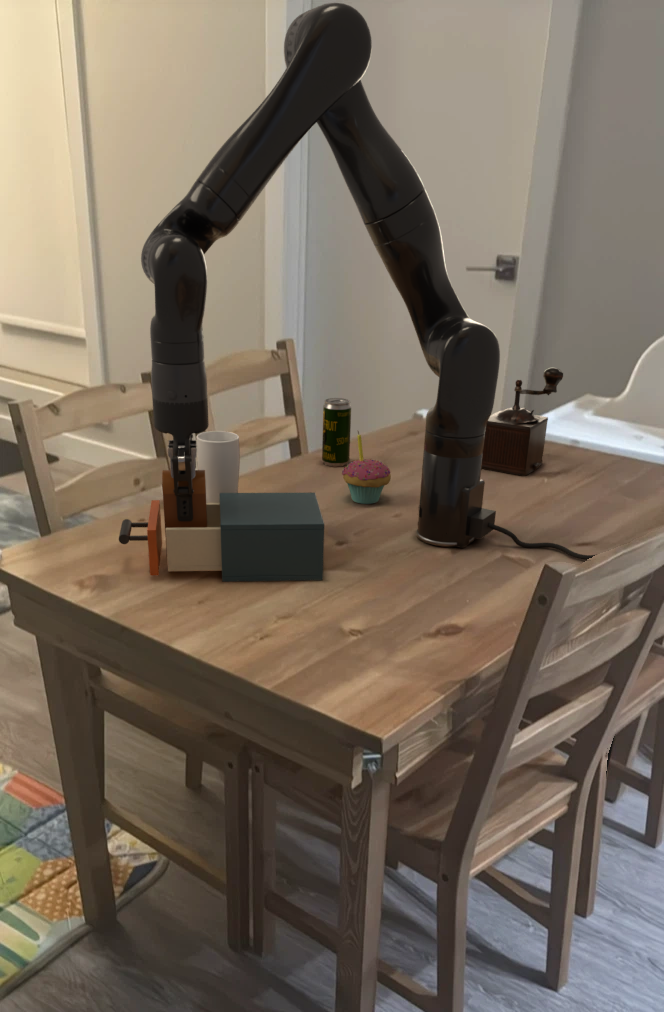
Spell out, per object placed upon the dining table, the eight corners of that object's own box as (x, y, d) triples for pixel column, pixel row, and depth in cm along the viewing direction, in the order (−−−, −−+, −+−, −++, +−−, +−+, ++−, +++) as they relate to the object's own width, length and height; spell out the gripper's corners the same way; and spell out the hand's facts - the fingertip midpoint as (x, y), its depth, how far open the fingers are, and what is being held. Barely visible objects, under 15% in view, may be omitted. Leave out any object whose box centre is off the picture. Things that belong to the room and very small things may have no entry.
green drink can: (333, 457, 198) (335, 396, 192) (354, 463, 195) (357, 401, 189) (316, 463, 194) (317, 400, 188) (337, 468, 191) (339, 405, 185)
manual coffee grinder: (528, 477, 190) (541, 380, 181) (475, 467, 195) (485, 373, 186) (554, 458, 202) (567, 367, 193) (503, 449, 207) (514, 360, 197)
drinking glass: (234, 537, 158) (232, 443, 150) (193, 533, 159) (189, 439, 151) (245, 523, 163) (244, 432, 156) (206, 519, 164) (203, 428, 157)
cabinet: (222, 581, 142) (220, 524, 138) (221, 546, 154) (219, 492, 150) (322, 580, 144) (324, 523, 139) (314, 545, 156) (315, 492, 151)
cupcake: (334, 503, 174) (336, 434, 168) (351, 489, 181) (354, 423, 174) (380, 510, 171) (384, 441, 165) (396, 496, 178) (400, 429, 172)
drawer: (119, 575, 141) (115, 530, 137) (125, 543, 152) (122, 500, 148) (244, 574, 143) (244, 529, 139) (242, 542, 154) (241, 499, 150)
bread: (208, 544, 149) (204, 465, 143) (208, 556, 145) (204, 476, 139) (167, 544, 148) (163, 465, 142) (166, 557, 144) (161, 476, 138)
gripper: (207, 406, 129) (211, 531, 138) (207, 382, 142) (211, 498, 150) (149, 406, 128) (157, 531, 137) (154, 382, 141) (161, 498, 149)
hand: (185, 513), depth 144 cm, fingers closed on bread, 5 cm apart
